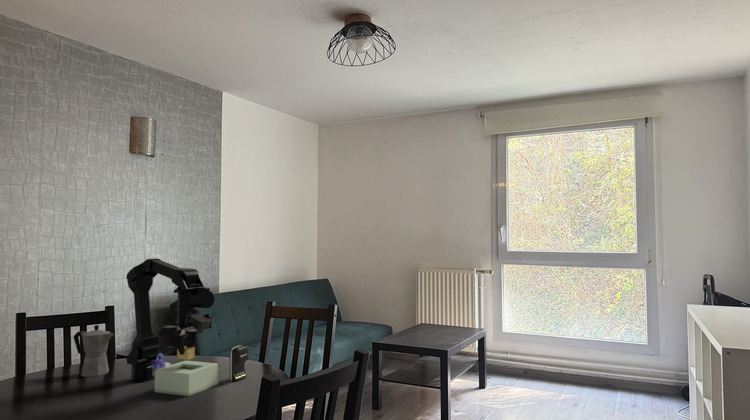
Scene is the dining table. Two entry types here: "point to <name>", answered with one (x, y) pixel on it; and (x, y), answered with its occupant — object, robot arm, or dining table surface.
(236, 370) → the battery charger
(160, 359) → the pudding
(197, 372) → the open box
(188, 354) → the khaki wooden block
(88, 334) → the coffeepot
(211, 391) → the dining table surface
